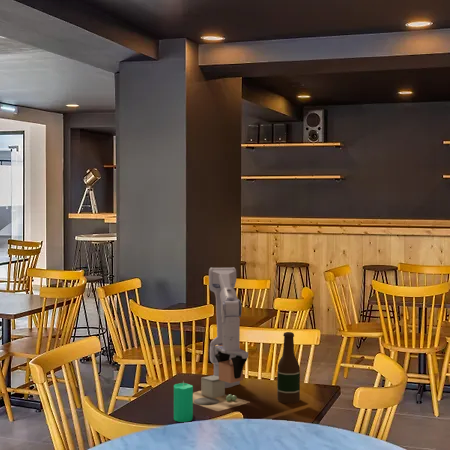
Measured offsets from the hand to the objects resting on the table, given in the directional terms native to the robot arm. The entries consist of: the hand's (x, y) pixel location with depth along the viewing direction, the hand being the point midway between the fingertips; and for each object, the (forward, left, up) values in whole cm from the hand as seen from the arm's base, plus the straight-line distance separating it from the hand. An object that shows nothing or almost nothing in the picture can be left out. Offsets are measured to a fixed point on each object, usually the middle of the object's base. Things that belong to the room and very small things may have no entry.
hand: (230, 376), depth 232 cm
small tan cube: (0, 0, -1) cm, 1 cm away
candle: (+23, +2, -10) cm, 25 cm away
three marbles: (0, 0, -8) cm, 8 cm away
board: (+4, -5, -9) cm, 11 cm away
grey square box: (0, -9, -8) cm, 12 cm away
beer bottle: (-14, +13, -10) cm, 22 cm away
